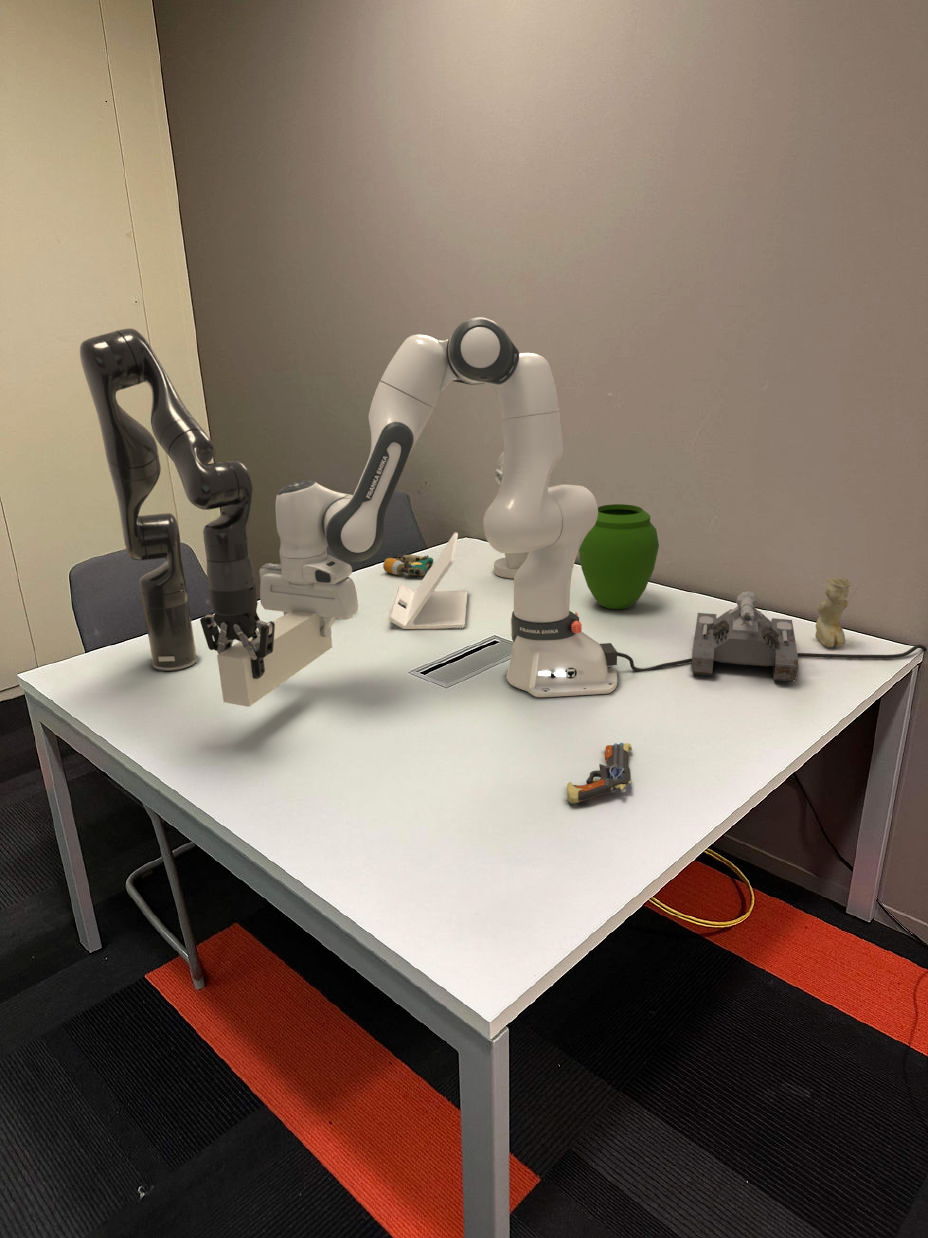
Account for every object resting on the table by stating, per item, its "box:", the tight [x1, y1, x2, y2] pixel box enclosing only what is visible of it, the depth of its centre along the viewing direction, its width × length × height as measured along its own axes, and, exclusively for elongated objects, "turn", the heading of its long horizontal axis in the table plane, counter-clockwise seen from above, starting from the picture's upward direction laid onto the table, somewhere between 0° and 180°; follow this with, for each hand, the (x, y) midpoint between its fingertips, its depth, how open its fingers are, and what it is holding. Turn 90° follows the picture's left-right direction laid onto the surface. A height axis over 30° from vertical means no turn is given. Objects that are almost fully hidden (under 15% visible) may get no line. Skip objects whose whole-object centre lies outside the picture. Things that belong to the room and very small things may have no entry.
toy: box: [690, 591, 799, 683], centre depth 178 cm, size 25×20×15 cm
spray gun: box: [382, 553, 434, 577], centre depth 246 cm, size 4×17×15 cm
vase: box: [578, 503, 660, 610], centre depth 210 cm, size 20×20×24 cm
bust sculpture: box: [493, 451, 529, 579], centre depth 231 cm, size 16×24×35 cm
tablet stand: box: [388, 531, 468, 630], centre depth 211 cm, size 18×25×17 cm
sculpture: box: [814, 576, 852, 648], centre depth 185 cm, size 6×7×15 cm
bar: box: [216, 610, 333, 707], centre depth 158 cm, size 28×5×9 cm, turn 158°
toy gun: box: [566, 742, 633, 804], centre depth 138 cm, size 3×19×10 cm
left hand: (243, 674), depth 148 cm, fingers closed on bar, 5 cm apart
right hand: (311, 634), depth 168 cm, fingers closed on bar, 5 cm apart
